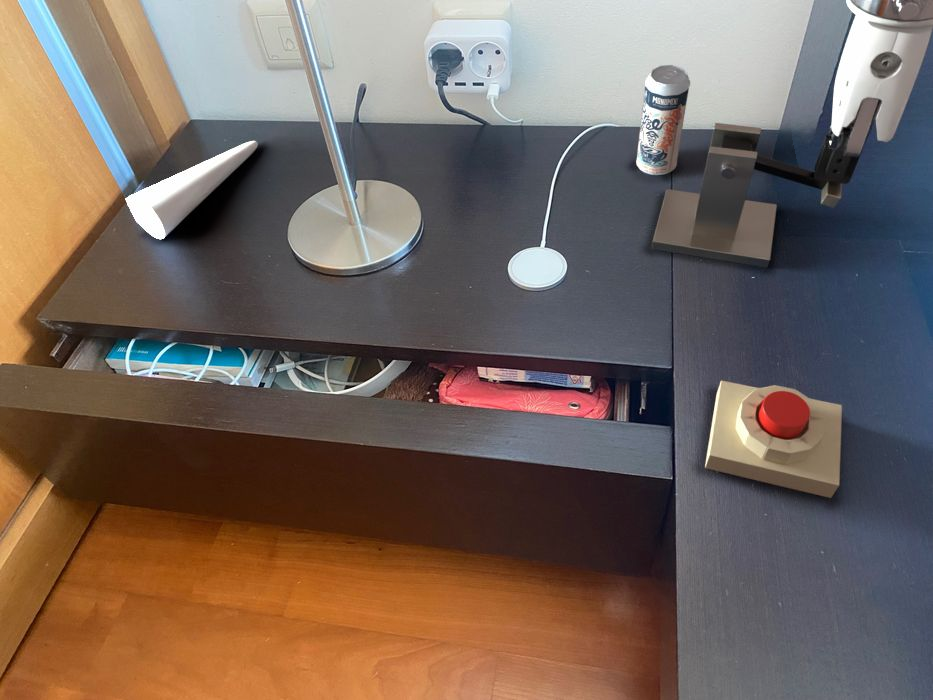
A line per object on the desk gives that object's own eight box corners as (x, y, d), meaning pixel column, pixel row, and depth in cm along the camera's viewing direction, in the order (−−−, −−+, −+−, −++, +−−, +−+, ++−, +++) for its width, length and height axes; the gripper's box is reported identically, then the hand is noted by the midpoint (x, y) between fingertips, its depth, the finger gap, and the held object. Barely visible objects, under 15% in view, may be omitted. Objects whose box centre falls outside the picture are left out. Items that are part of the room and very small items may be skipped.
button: (805, 408, 60) (811, 395, 59) (802, 443, 58) (809, 432, 57) (760, 398, 61) (764, 386, 60) (756, 433, 59) (761, 421, 58)
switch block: (834, 419, 63) (848, 392, 60) (831, 498, 59) (846, 474, 56) (716, 394, 66) (725, 367, 63) (704, 468, 61) (713, 443, 58)
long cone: (290, 171, 96) (171, 245, 85) (259, 160, 99) (140, 230, 88) (278, 131, 92) (151, 203, 81) (246, 121, 95) (120, 189, 85)
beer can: (628, 170, 87) (638, 79, 78) (647, 149, 89) (659, 58, 80) (664, 183, 85) (678, 91, 76) (683, 161, 87) (699, 69, 78)
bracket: (774, 212, 80) (803, 120, 71) (767, 268, 75) (797, 176, 66) (665, 197, 84) (679, 106, 74) (651, 249, 78) (665, 159, 69)
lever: (832, 180, 73) (845, 161, 71) (831, 212, 70) (844, 194, 68) (716, 145, 74) (725, 126, 72) (710, 175, 71) (719, 156, 69)
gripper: (965, 39, 50) (872, 234, 65) (953, -54, 59) (873, 136, 73) (849, 30, 52) (784, 221, 67) (853, -60, 61) (794, 127, 75)
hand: (831, 176), depth 70 cm, fingers closed
